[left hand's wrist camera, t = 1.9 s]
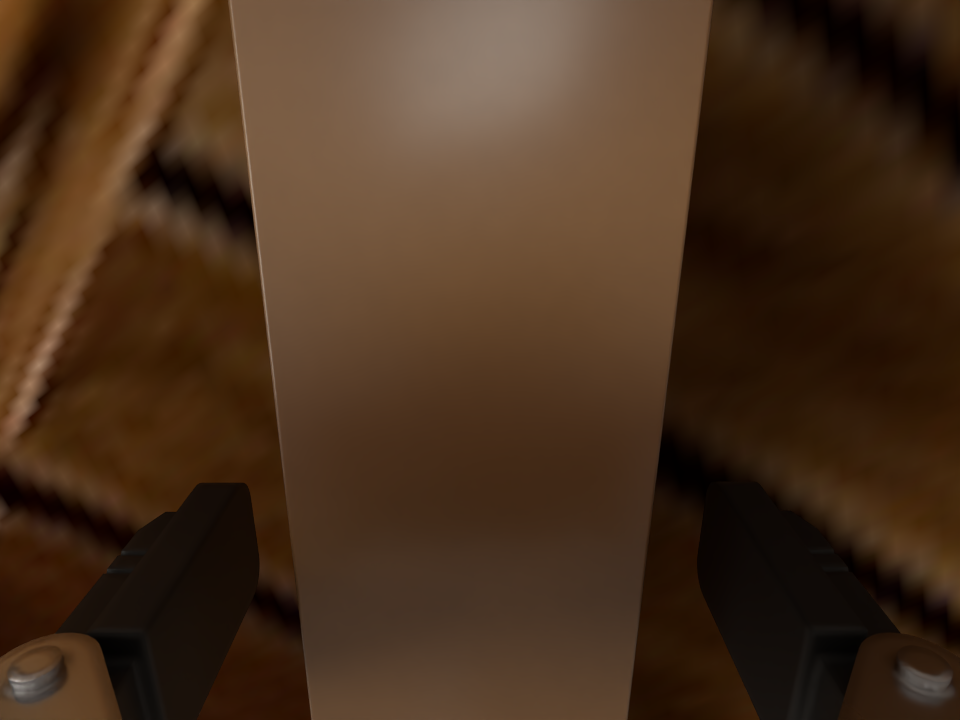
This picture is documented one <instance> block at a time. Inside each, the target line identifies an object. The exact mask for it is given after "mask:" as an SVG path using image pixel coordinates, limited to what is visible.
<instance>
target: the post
mask: <svg viewBox="0 0 960 720" xmlns="http://www.w3.org/2000/svg"><path fill="white" fill-rule="evenodd" d="M228 3H229V11H230V20H231V29H232V37H233V46H234V55H235V63H236V72H237V80H238V89H239V98H240V106H241V115H242V124H243V132H244V141H245V149H246V158H247V167H248V175H249V184H250V193H251V201H252V210H253V219H254V227H255V236H256V244H257V253H258V262H259V270H260V279H261V288H262V296H263V305H264V313H265V322H266V331H267V339H268V348H269V357H270V365H271V374H272V383H273V391H274V400H275V408H276V417H277V426H278V434H279V443H280V452H281V460H282V469H283V478H284V486H285V495H286V503H287V512H288V521H289V529H290V538H291V547H292V555H293V564H294V572H295V581H296V590H297V598H298V607H299V616H300V624H301V633H302V642H303V650H304V659H305V667H306V676H307V685H308V693H309V702H310V711H311V719H312V720H627V719H628V710H629V702H630V694H631V685H632V677H633V669H634V660H635V652H636V644H637V635H638V627H639V619H640V610H641V602H642V594H643V586H644V577H645V569H646V561H647V552H648V544H649V536H650V527H651V519H652V511H653V502H654V494H655V486H656V477H657V469H658V461H659V452H660V444H661V436H662V427H663V419H664V411H665V402H666V394H667V386H668V378H669V369H670V361H671V353H672V344H673V336H674V328H675V319H676V311H677V303H678V294H679V286H680V278H681V269H682V261H683V253H684V244H685V236H686V228H687V219H688V211H689V203H690V194H691V186H692V178H693V170H694V161H695V153H696V145H697V136H698V128H699V120H700V111H701V103H702V95H703V86H704V78H705V70H706V61H707V53H708V45H709V36H710V28H711V20H712V11H713V3H714V0H228Z"/></svg>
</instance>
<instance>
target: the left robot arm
mask: <svg viewBox="0 0 960 720" xmlns="http://www.w3.org/2000/svg"><path fill="white" fill-rule="evenodd" d="M697 569H698V578H699V583H700V588H701V591H702V593H703V596H704V598H705V600H706V602H707V605H708V607H709V609H710V611H711V613H712V616H713V618H714V620H715V622H716V624H717V627H718V629H719V631H720V633H721V635H722V637H723V640H724V642H725V644H726V646H727V648H728V651H729V653H730V655H731V657H732V659H733V661H734V664H735V666H736V668H737V670H738V672H739V675H740V677H741V679H742V681H743V683H744V686H745V688H746V690H747V692H748V694H749V696H750V699H751V701H752V703H753V705H754V707H755V710H756V712H757V714H758V716H759V718H760V720H960V658H959V657H958V656H956V655H955V654H953V653H952V652H950V651H948V650H946V649H945V648H943V647H941V646H939V645H937V644H935V643H932V642H930V641H928V640H925V639H922V638H919V637H915V636H911V635H907V634H901V633H900V632H899V630H898V629H897V628H896V627H895V625H894V624H893V623H892V622H891V620H890V619H889V618H888V617H887V615H886V614H885V613H884V612H883V610H882V609H881V608H880V607H879V605H878V604H877V603H876V602H875V600H874V599H873V598H872V597H871V595H870V594H869V593H868V592H867V590H866V589H865V588H864V587H863V585H862V584H861V583H860V582H859V580H858V579H857V578H856V577H855V575H854V574H853V573H852V572H849V571H848V567H847V565H846V564H845V563H844V562H843V560H842V559H841V558H840V557H839V555H838V554H834V549H833V548H832V547H831V545H830V544H829V543H828V542H827V540H826V539H825V538H824V537H823V535H822V534H821V533H820V532H819V530H818V529H817V528H815V527H814V526H812V525H811V524H809V523H808V522H806V521H805V520H803V519H802V518H801V517H799V516H798V515H796V514H795V513H793V512H792V511H779V510H778V508H777V507H776V506H775V504H774V503H773V502H772V500H771V499H770V497H769V496H768V495H767V493H766V492H765V491H764V489H763V488H762V487H761V485H760V484H759V483H757V482H711V483H710V485H709V486H708V489H707V493H706V499H705V506H704V513H703V520H702V528H701V535H700V542H699V549H698V557H697ZM258 577H259V553H258V545H257V538H256V531H255V524H254V517H253V510H252V503H251V496H250V492H249V489H248V486H247V485H246V484H245V483H199V484H198V485H197V486H196V487H195V488H194V489H193V491H192V492H191V493H190V495H189V496H188V497H187V499H186V500H185V501H184V503H183V504H182V505H181V507H180V508H179V509H178V511H177V512H165V513H163V514H162V515H160V516H159V517H157V518H156V519H154V520H153V521H151V522H150V523H149V524H147V525H146V526H144V527H143V528H141V529H140V530H138V532H137V533H136V534H135V535H134V537H133V538H132V539H131V540H130V542H129V543H128V544H127V545H126V546H125V548H124V549H123V550H122V554H121V556H117V558H116V559H115V560H114V561H113V563H112V564H111V565H110V566H109V568H108V569H107V574H103V575H102V576H101V577H100V579H99V580H98V581H97V582H96V584H95V585H94V586H93V587H92V589H91V590H90V591H89V592H88V594H87V595H86V596H85V597H84V599H83V600H82V601H81V602H80V603H79V605H78V606H77V607H76V608H75V610H74V611H73V612H72V613H71V615H70V616H69V617H68V618H67V620H66V621H65V622H64V623H63V625H62V626H61V627H60V628H59V629H58V631H57V632H56V633H55V634H53V635H49V636H45V637H41V638H38V639H35V640H32V641H30V642H28V643H25V644H23V645H21V646H19V647H17V648H15V649H14V650H12V651H10V652H8V653H7V654H5V655H4V656H2V657H1V658H0V720H197V717H198V715H199V713H200V711H201V709H202V707H203V704H204V702H205V700H206V698H207V696H208V694H209V691H210V689H211V687H212V685H213V683H214V681H215V679H216V676H217V674H218V672H219V670H220V668H221V666H222V663H223V661H224V659H225V657H226V655H227V653H228V650H229V648H230V646H231V644H232V642H233V640H234V637H235V635H236V633H237V631H238V629H239V627H240V625H241V622H242V620H243V618H244V616H245V614H246V612H247V609H248V607H249V605H250V603H251V601H252V599H253V596H254V594H255V591H256V588H257V583H258Z"/></svg>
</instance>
